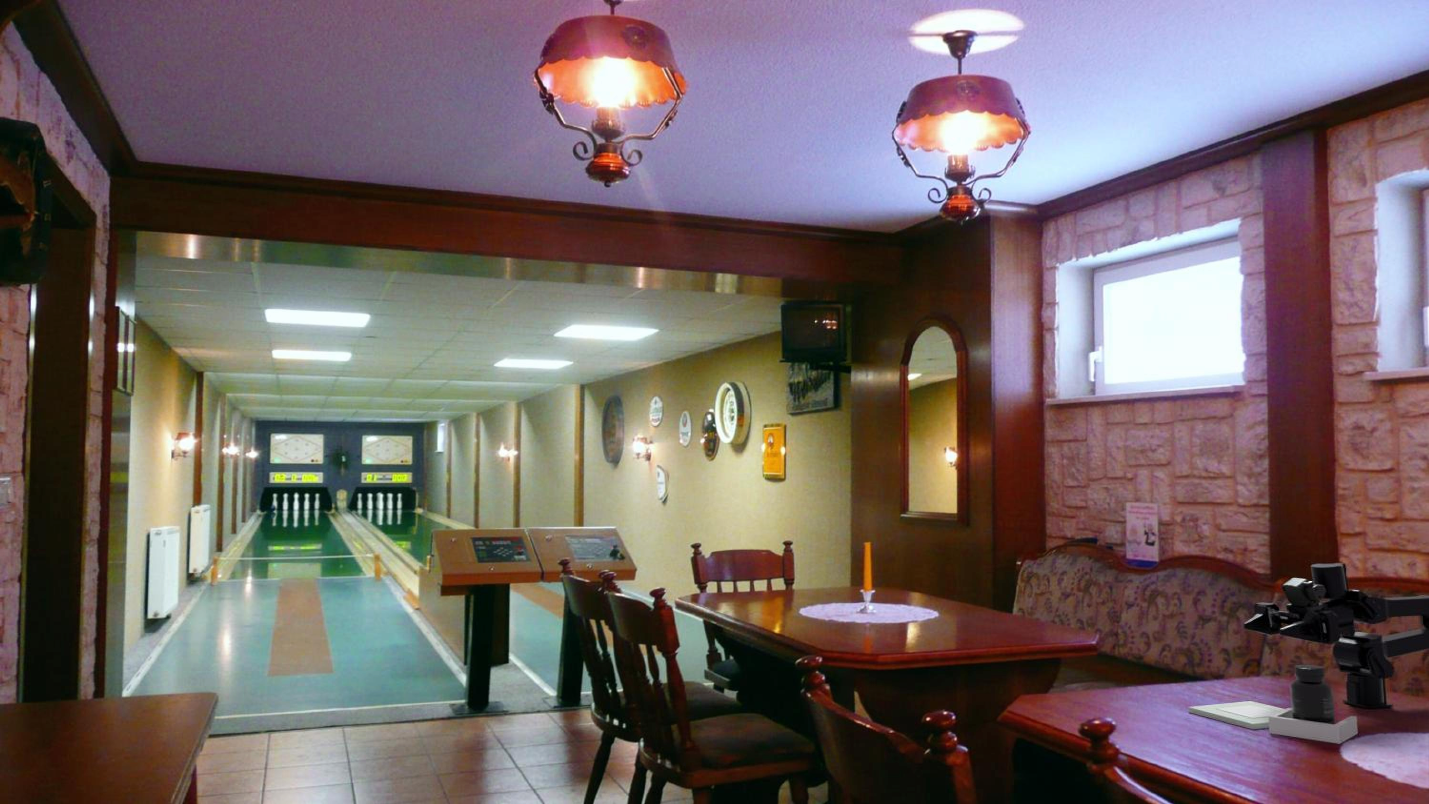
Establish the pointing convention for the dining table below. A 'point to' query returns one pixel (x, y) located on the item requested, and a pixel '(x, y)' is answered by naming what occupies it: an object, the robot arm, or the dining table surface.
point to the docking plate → (1239, 713)
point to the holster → (1312, 728)
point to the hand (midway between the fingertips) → (1261, 629)
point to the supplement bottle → (1312, 695)
